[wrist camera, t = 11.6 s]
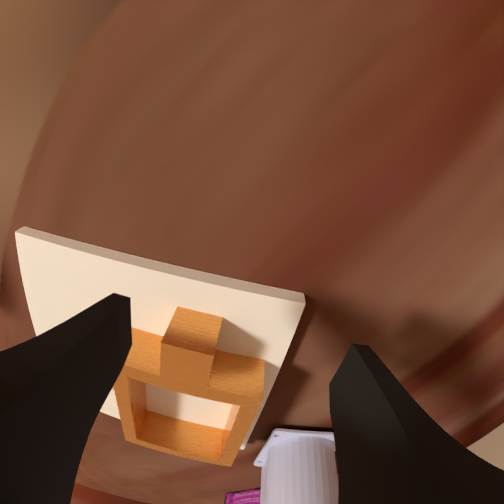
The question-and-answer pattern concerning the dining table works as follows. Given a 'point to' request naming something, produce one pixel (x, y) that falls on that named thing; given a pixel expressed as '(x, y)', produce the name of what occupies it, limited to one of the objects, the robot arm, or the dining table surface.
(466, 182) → the dining table surface
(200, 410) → the board
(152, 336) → the wooden link
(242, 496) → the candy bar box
